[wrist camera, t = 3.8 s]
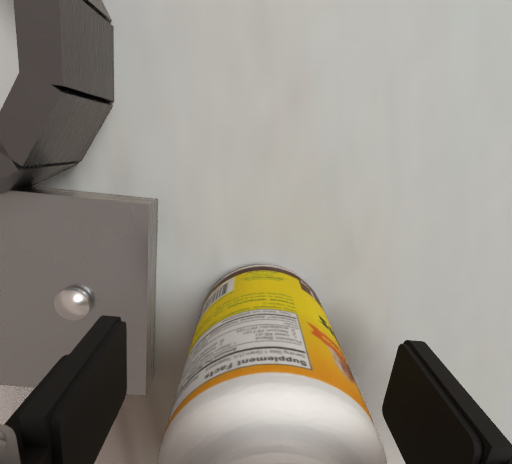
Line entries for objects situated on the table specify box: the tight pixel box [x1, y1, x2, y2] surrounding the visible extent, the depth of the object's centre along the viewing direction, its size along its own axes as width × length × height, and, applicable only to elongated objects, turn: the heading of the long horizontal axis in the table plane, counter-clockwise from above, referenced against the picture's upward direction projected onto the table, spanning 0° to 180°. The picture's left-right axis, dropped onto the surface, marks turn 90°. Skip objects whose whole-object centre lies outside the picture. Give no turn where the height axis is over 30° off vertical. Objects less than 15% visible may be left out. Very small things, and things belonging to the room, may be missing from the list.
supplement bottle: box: [157, 265, 387, 464], centre depth 10 cm, size 6×6×10 cm
